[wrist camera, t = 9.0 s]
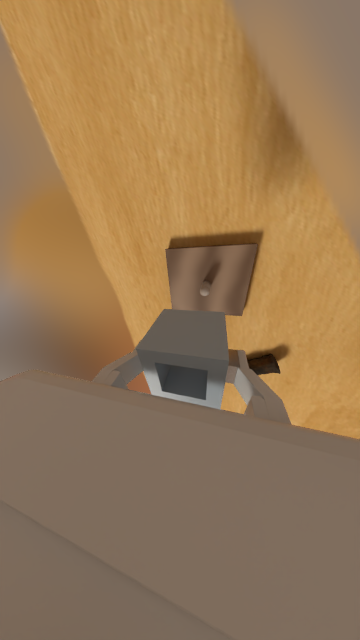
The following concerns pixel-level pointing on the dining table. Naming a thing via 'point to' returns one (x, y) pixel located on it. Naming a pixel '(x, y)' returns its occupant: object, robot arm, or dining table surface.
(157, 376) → the collar
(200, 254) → the mounting plate
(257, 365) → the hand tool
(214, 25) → the dining table surface
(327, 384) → the dining table surface
